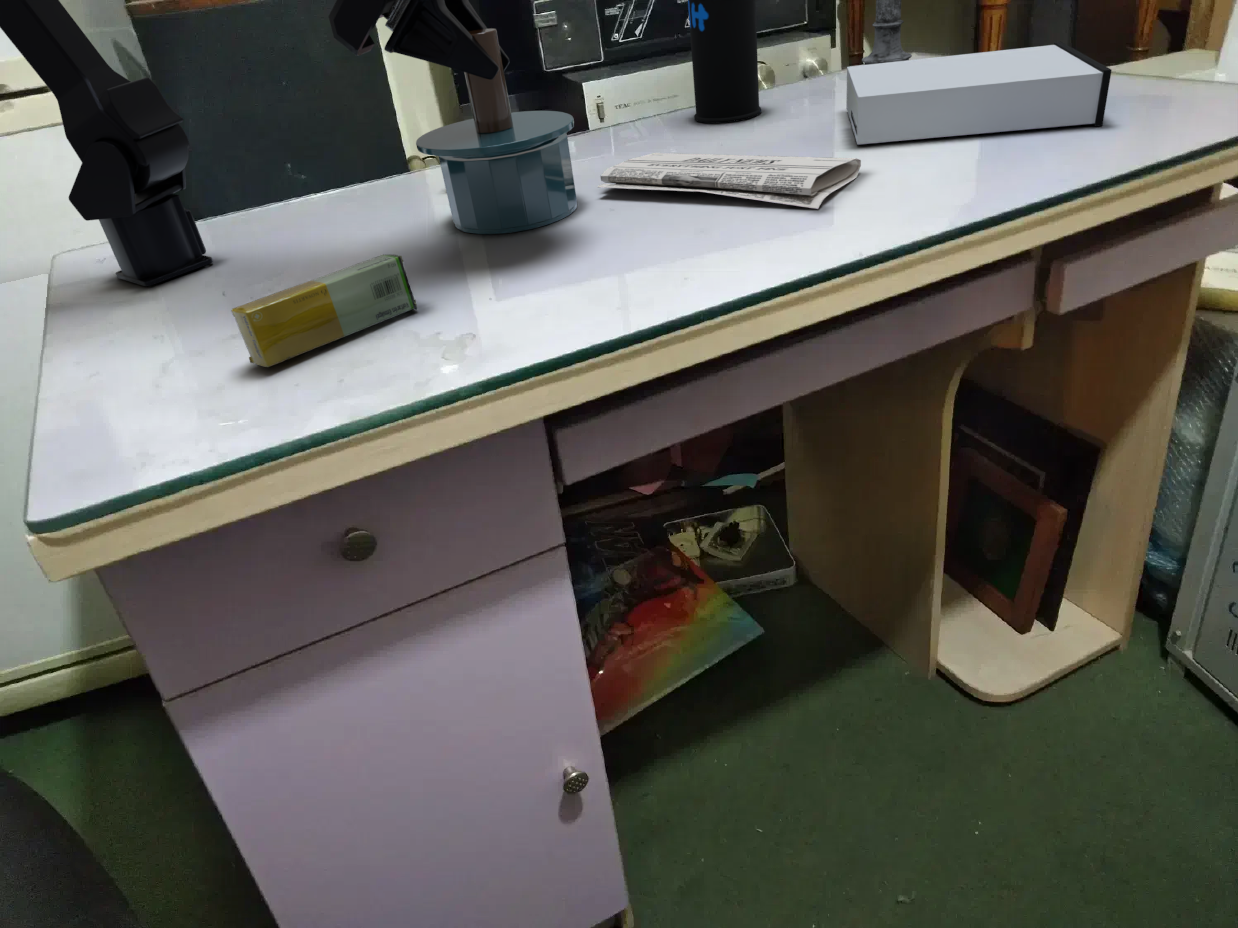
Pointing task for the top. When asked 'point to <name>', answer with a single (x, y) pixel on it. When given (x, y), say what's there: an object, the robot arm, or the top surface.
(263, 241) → the top surface
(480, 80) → the lid
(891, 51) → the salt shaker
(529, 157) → the canister
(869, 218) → the top surface
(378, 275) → the medication box
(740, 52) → the aerosol can
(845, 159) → the newspaper
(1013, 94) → the disc drive
